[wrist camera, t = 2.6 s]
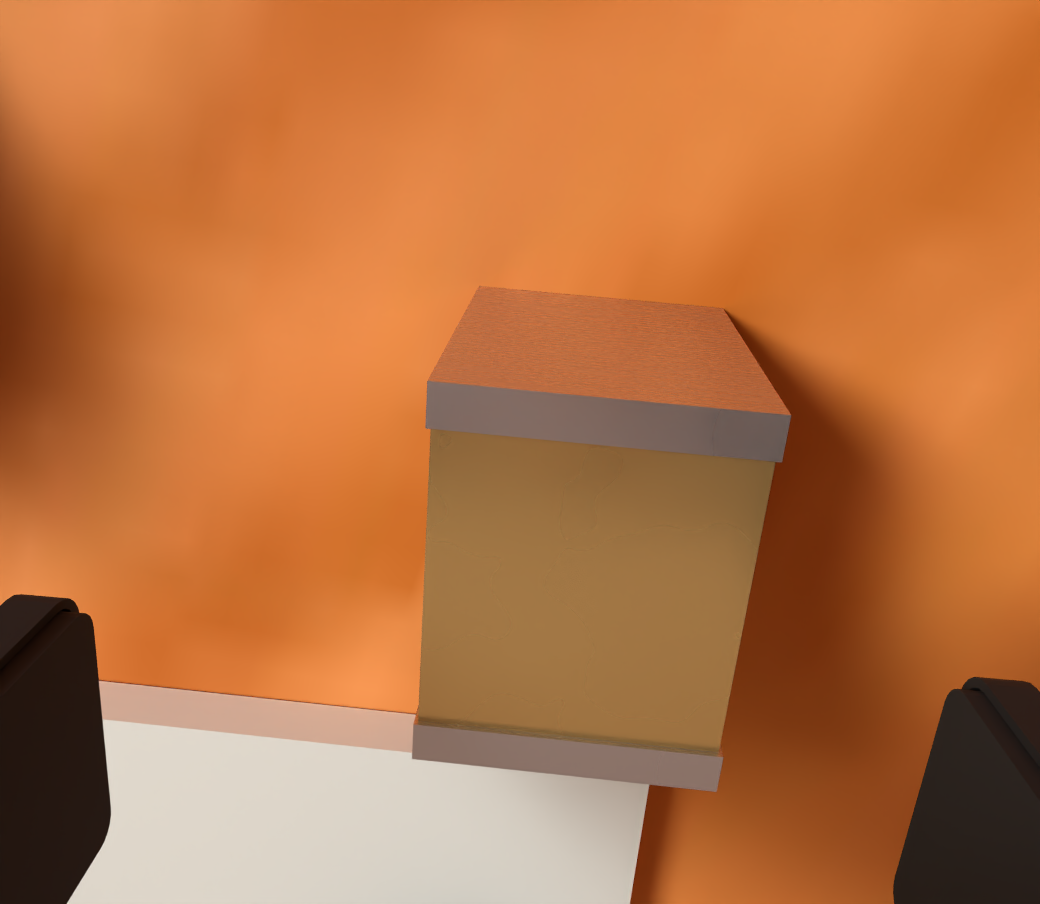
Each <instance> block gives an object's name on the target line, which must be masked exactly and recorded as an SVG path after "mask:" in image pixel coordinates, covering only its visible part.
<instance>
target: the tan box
mask: <svg viewBox="0 0 1040 904" xmlns="http://www.w3.org/2000/svg"><path fill="white" fill-rule="evenodd" d="M790 419H791V414H790V412H789V411H788V409H787V408H786V406H785V405H784V403H783V401H782V400H781V398H780V397H779V395H778V394H777V392H776V390H775V389H774V387H773V386H772V384H771V383H770V381H769V380H768V378H767V376H766V375H765V373H764V372H763V370H762V369H761V367H760V365H759V364H758V362H757V361H756V359H755V358H754V356H753V354H752V353H751V351H750V350H749V348H748V347H747V345H746V344H745V342H744V340H743V339H742V337H741V336H740V334H739V333H738V331H737V329H736V328H735V326H734V325H733V323H732V322H731V320H730V318H729V317H728V315H727V314H726V312H725V311H724V309H723V308H714V307H703V306H692V305H681V304H670V303H659V302H648V301H637V300H626V299H614V298H603V297H592V296H581V295H570V294H559V293H548V292H537V291H526V290H515V289H504V288H493V287H482V286H479V287H478V289H477V291H476V293H475V295H474V296H473V298H472V300H471V302H470V304H469V306H468V308H467V309H466V311H465V313H464V315H463V317H462V319H461V320H460V322H459V324H458V326H457V328H456V330H455V331H454V333H453V335H452V337H451V339H450V341H449V342H448V344H447V346H446V348H445V350H444V352H443V353H442V355H441V357H440V359H439V361H438V363H437V365H436V366H435V368H434V370H433V372H432V374H431V376H430V377H429V379H428V381H427V405H426V428H427V429H431V436H430V459H429V482H428V505H427V528H426V551H425V574H424V596H423V619H422V642H421V665H420V688H419V705H418V709H417V713H416V716H415V720H414V724H413V744H412V759H416V760H426V761H435V762H444V763H453V764H463V765H472V766H481V767H490V768H500V769H509V770H518V771H528V772H537V773H546V774H555V775H565V776H574V777H583V778H593V779H602V780H611V781H620V782H630V783H639V784H648V785H658V786H667V787H676V788H685V789H695V790H704V791H713V792H717V787H718V782H719V777H720V772H721V767H722V762H723V753H722V748H721V744H720V743H721V738H722V733H723V728H724V723H725V718H726V713H727V707H728V702H729V697H730V692H731V687H732V682H733V677H734V672H735V667H736V661H737V656H738V651H739V646H740V641H741V636H742V631H743V626H744V621H745V615H746V610H747V605H748V600H749V595H750V590H751V585H752V580H753V575H754V570H755V564H756V559H757V554H758V549H759V544H760V539H761V534H762V529H763V524H764V518H765V513H766V508H767V503H768V498H769V493H770V488H771V483H772V478H773V472H774V467H775V462H782V460H783V455H784V450H785V445H786V440H787V435H788V430H789V425H790Z"/></svg>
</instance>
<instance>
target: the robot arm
mask: <svg viewBox="0 0 1040 904" xmlns="http://www.w3.org/2000/svg"><path fill="white" fill-rule="evenodd" d="M110 819H111V803H110V793H109V782H108V772H107V761H106V751H105V741H104V730H103V720H102V709H101V699H100V689H99V678H98V668H97V657H96V647H95V636H94V627H93V622H92V619H91V617H90V616H89V615H88V614H86V613H79V610H78V607H77V605H76V603H75V602H74V601H73V600H71V599H68V598H57V597H45V596H34V595H22V594H20V595H14V596H12V597H10V598H9V599H7V600H6V601H5V602H4V603H3V604H2V605H0V904H67V902H68V901H69V899H70V898H71V896H72V894H73V893H74V891H75V890H76V888H77V886H78V885H79V883H80V881H81V880H82V878H83V877H84V875H85V873H86V872H87V870H88V869H89V867H90V865H91V864H92V862H93V860H94V859H95V857H96V856H97V854H98V852H99V851H100V849H101V847H102V845H103V843H104V841H105V839H106V836H107V833H108V829H109V825H110ZM893 894H894V904H1040V692H1039V691H1038V689H1037V688H1035V687H1034V686H1033V685H1032V684H1031V683H1028V682H1024V681H1014V680H1003V679H991V678H980V677H973V678H971V679H968V680H967V682H966V683H965V684H964V685H963V687H962V689H954V690H951V692H950V693H949V694H948V695H947V698H946V700H945V703H944V707H943V710H942V714H941V717H940V721H939V724H938V728H937V731H936V735H935V738H934V742H933V745H932V749H931V752H930V756H929V759H928V763H927V766H926V770H925V773H924V777H923V780H922V784H921V787H920V791H919V794H918V798H917V801H916V805H915V808H914V812H913V815H912V819H911V823H910V826H909V830H908V833H907V837H906V840H905V844H904V847H903V851H902V854H901V858H900V861H899V865H898V868H897V872H896V875H895V880H894V889H893Z"/></svg>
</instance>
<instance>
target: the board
mask: <svg viewBox="0 0 1040 904" xmlns="http://www.w3.org/2000/svg"><path fill="white" fill-rule="evenodd" d="M99 689H100V699H101V709H102V720H103V730H104V741H105V751H106V761H107V772H108V782H109V793H110V803H111V819H110V825H109V829H108V833H107V836H106V839H105V841H104V843H103V845H102V847H101V849H100V851H99V852H98V854H97V856H96V857H95V859H94V860H93V862H92V864H91V865H90V867H89V869H88V870H87V872H86V873H85V875H84V877H83V878H82V880H81V881H80V883H79V885H78V886H77V888H76V890H75V891H74V893H73V894H72V896H71V898H70V899H69V901H68V902H67V904H630V899H631V893H632V887H633V881H634V875H635V869H636V863H637V857H638V850H639V844H640V838H641V832H642V826H643V820H644V814H645V808H646V802H647V795H648V789H649V785H648V784H639V783H630V782H620V781H611V780H602V779H593V778H583V777H574V776H565V775H555V774H546V773H537V772H528V771H518V770H509V769H500V768H490V767H481V766H472V765H463V764H453V763H444V762H435V761H426V760H416V759H412V744H413V724H414V720H415V716H416V714H407V713H397V712H388V711H378V710H369V709H360V708H350V707H341V706H331V705H322V704H313V703H303V702H294V701H284V700H275V699H266V698H256V697H247V696H238V695H228V694H219V693H209V692H200V691H191V690H181V689H172V688H162V687H153V686H144V685H134V684H125V683H115V682H106V681H99Z"/></svg>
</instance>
